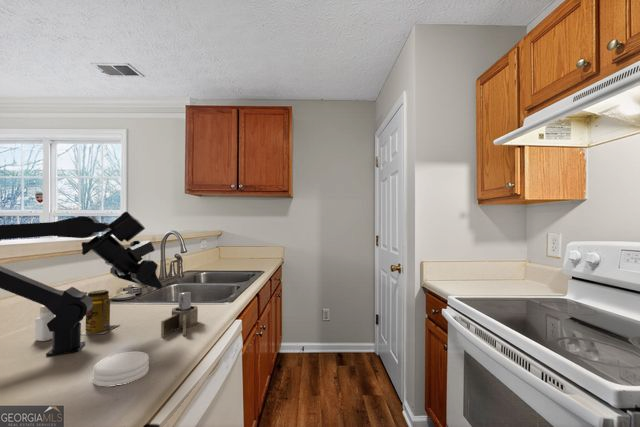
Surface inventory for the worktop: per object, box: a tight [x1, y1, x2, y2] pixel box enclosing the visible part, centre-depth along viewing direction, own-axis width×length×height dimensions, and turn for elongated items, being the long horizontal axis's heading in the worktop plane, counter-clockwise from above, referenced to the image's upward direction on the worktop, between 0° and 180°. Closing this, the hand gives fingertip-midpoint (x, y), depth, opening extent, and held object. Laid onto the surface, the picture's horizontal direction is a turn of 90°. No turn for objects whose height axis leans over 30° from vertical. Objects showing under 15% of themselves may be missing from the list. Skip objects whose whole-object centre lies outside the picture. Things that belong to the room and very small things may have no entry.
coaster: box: [92, 351, 150, 387], centre depth 66 cm, size 10×10×4 cm
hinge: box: [160, 305, 199, 338], centre depth 96 cm, size 15×10×5 cm, turn 23°
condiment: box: [81, 289, 121, 336], centre depth 95 cm, size 7×8×12 cm
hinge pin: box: [178, 291, 192, 311], centre depth 100 cm, size 4×4×10 cm
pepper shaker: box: [34, 304, 55, 342], centre depth 88 cm, size 4×4×10 cm
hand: (153, 286), depth 94 cm, fingers open, 9 cm apart
